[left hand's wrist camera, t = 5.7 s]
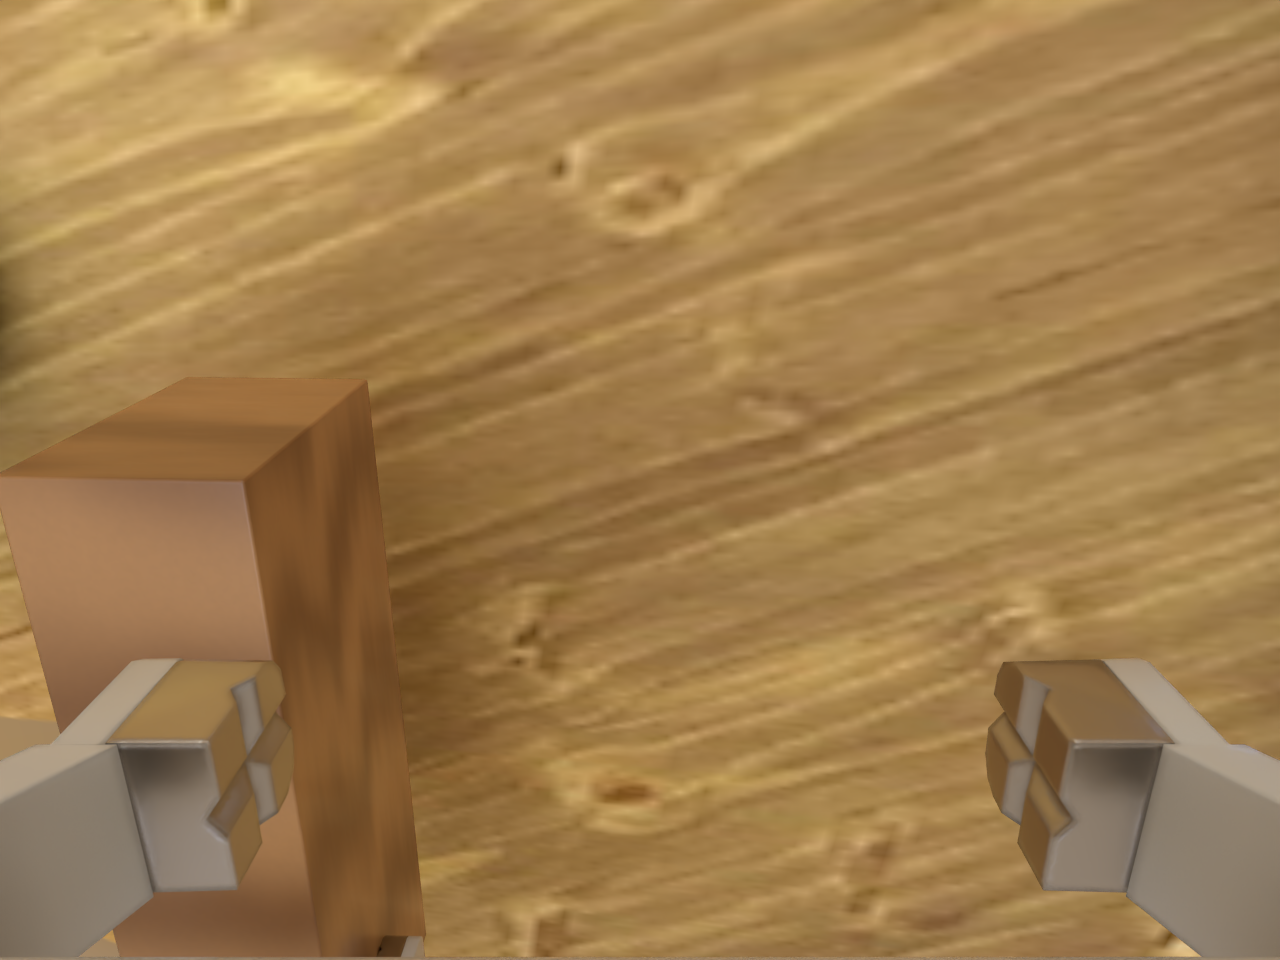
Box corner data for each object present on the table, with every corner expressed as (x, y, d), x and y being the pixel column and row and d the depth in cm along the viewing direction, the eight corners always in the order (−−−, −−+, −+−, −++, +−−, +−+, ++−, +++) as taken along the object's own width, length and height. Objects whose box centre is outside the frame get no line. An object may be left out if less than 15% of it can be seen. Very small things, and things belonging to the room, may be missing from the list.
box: (186, 376, 32) (-11, 476, 23) (367, 378, 31) (243, 480, 22) (285, 929, 41) (173, 1161, 32) (426, 934, 41) (355, 1168, 31)
